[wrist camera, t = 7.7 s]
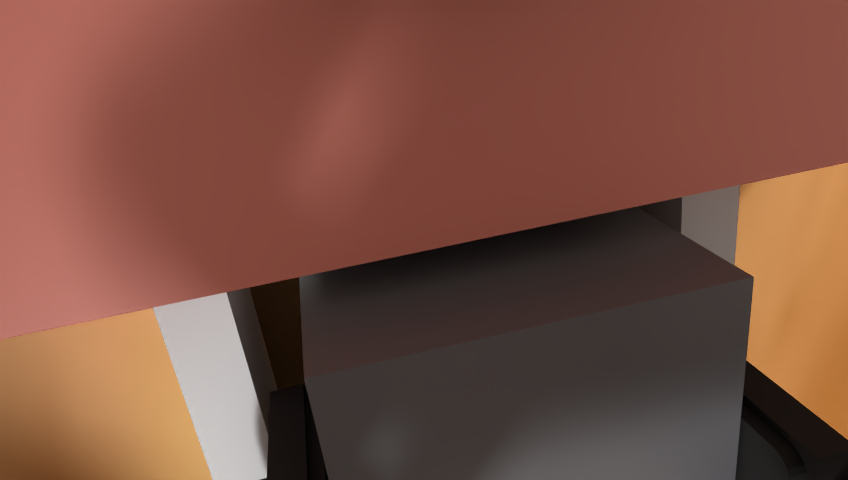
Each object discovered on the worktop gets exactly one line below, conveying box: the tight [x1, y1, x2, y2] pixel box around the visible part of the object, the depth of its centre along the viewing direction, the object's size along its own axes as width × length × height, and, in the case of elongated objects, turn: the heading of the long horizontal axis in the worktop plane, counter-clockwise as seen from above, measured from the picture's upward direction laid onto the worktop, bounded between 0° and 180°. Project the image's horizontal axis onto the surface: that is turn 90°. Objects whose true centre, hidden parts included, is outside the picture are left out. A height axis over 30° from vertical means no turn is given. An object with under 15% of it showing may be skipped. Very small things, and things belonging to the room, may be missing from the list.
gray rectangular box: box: [299, 207, 754, 480], centre depth 10 cm, size 7×5×5 cm
